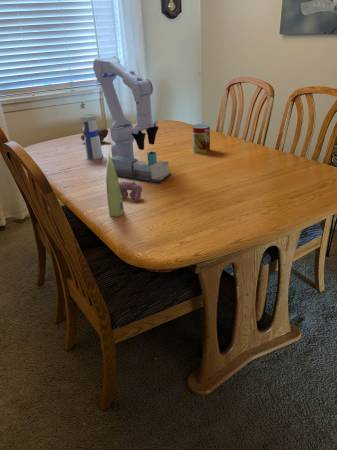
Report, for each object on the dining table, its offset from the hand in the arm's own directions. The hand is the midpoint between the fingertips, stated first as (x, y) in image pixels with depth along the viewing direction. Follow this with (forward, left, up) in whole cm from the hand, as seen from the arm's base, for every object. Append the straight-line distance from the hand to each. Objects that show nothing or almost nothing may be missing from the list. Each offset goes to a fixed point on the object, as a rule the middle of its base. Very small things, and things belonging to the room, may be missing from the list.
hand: (146, 146), depth 154 cm
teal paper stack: (+3, -6, -8) cm, 10 cm away
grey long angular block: (-1, -6, -10) cm, 12 cm away
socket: (+10, -6, -10) cm, 16 cm away
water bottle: (-35, +6, -11) cm, 37 cm away
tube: (+12, -38, -11) cm, 42 cm away
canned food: (+9, +32, -11) cm, 35 cm away
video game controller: (+9, -27, -11) cm, 30 cm away
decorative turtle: (-50, +25, -11) cm, 56 cm away
